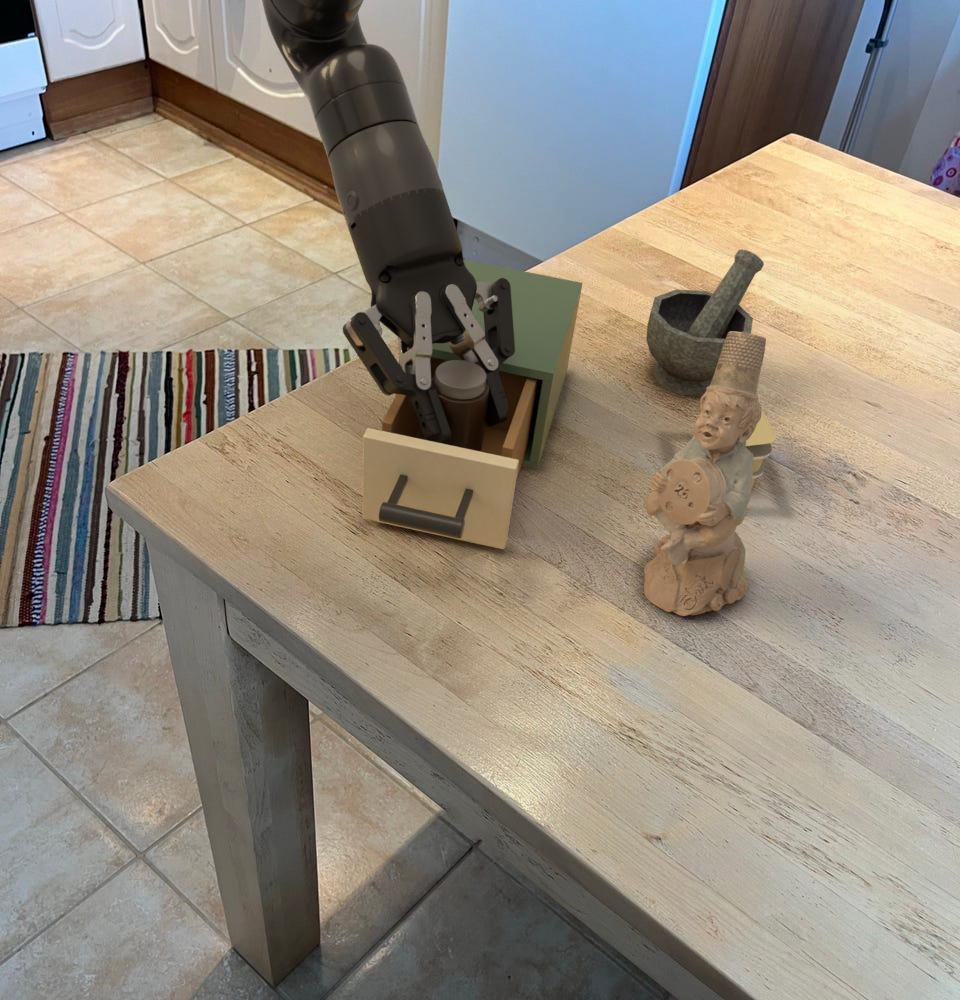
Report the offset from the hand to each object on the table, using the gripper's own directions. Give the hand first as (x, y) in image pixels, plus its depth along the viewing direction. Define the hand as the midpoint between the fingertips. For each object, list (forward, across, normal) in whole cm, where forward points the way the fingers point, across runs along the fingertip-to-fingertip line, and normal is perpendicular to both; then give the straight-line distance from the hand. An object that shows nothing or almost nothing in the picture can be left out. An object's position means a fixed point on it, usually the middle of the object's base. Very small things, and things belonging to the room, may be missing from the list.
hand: (469, 431), depth 74 cm
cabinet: (-3, -10, -13) cm, 17 cm away
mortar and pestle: (+1, -31, -10) cm, 33 cm away
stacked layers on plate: (+10, -23, -1) cm, 25 cm away
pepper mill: (+2, 0, -5) cm, 5 cm away
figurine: (+17, -11, +6) cm, 21 cm away
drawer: (+4, +1, -5) cm, 7 cm away
